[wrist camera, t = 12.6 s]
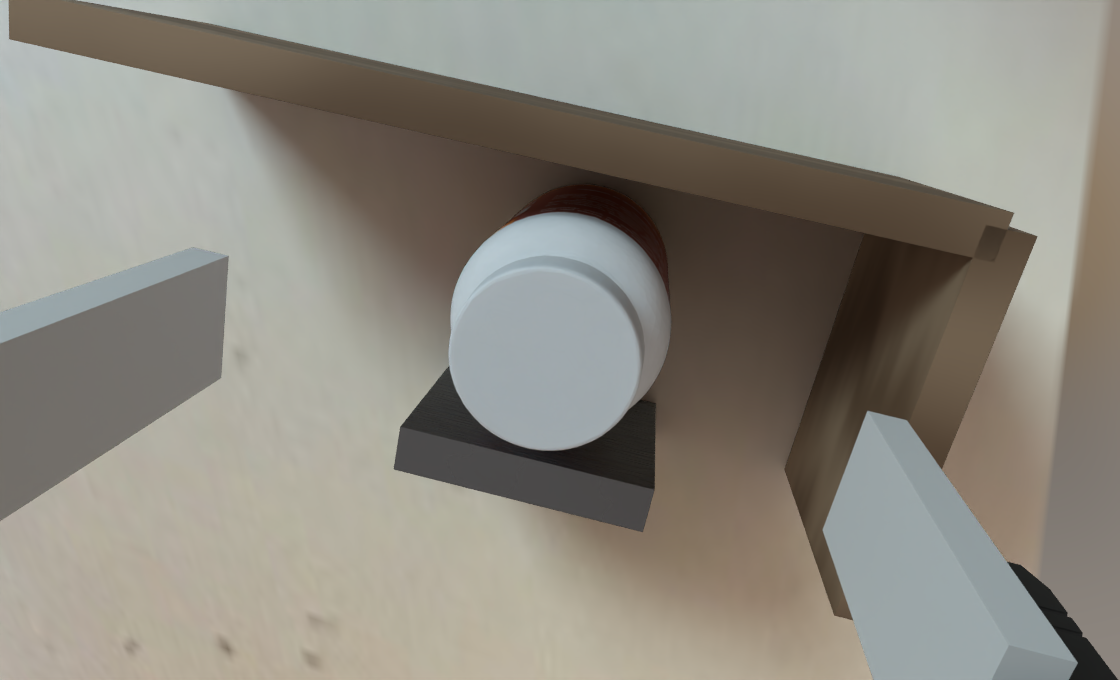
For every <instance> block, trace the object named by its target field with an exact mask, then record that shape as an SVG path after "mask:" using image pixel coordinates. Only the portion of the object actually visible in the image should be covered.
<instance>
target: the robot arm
mask: <svg viewBox="0 0 1120 680" xmlns="http://www.w3.org/2000/svg"><path fill="white" fill-rule="evenodd" d="M228 257H229V256H227V255H223V254H219V253H215V252H211V251H206V250H202V249H198V248H194V247H193V248H190V249H187V250H184V251H181V252H178V253H175V254H172V255H169V256H166V257H163V258H160V259H157V260H154V261H151V262H148V263H145V264H142V265H139V266H136V267H134V268H131V269H128V270H125V271H122V272H119V273H116V274H113V275H110V276H107V277H104V278H101V279H98V280H95V281H92V282H89V283H86V284H83V285H80V286H77V287H74V288H71V289H68V290H65V291H62V292H59V293H56V294H53V295H51V296H48V297H45V298H42V299H39V300H36V301H33V302H30V303H27V304H24V305H21V306H18V307H15V308H12V309H9V310H6V311H3V312H0V521H1V520H3V519H4V518H6V517H7V516H9V515H10V514H12V513H13V512H15V511H16V510H18V509H20V508H21V507H23V506H24V505H26V504H27V503H29V502H30V501H32V500H33V499H35V498H37V497H38V496H40V495H41V494H43V493H44V492H46V491H47V490H49V489H50V488H52V487H54V486H55V485H57V484H58V483H60V482H61V481H63V480H64V479H66V478H67V477H69V476H70V475H72V474H74V473H75V472H77V471H78V470H80V469H81V468H83V467H84V466H86V465H87V464H89V463H91V462H92V461H94V460H95V459H97V458H98V457H100V456H101V455H103V454H104V453H106V452H108V451H109V450H111V449H112V448H114V447H115V446H117V445H118V444H120V443H121V442H123V441H124V440H126V439H128V438H129V437H131V436H132V435H134V434H135V433H137V432H138V431H140V430H141V429H143V428H145V427H146V426H148V425H149V424H151V423H152V422H154V421H155V420H157V419H158V418H160V417H162V416H163V415H165V414H166V413H168V412H169V411H171V410H172V409H174V408H175V407H177V406H178V405H180V404H182V403H183V402H185V401H186V400H188V399H189V398H191V397H192V396H194V395H195V394H197V393H199V392H200V391H202V390H203V389H205V388H206V387H208V386H209V385H211V384H212V383H214V382H216V381H217V380H219V379H220V378H221V372H222V356H223V339H224V323H225V306H226V290H227V274H228ZM823 533H824V536H825V539H826V542H827V545H828V548H829V551H830V554H831V557H832V560H833V562H834V565H835V568H836V571H837V574H838V577H839V580H840V583H841V586H842V589H843V592H844V595H845V598H846V601H847V604H848V607H849V609H850V612H851V615H852V618H853V621H854V624H855V627H856V630H857V633H858V636H859V639H860V642H861V645H862V648H863V651H864V654H865V656H866V659H867V662H868V665H869V668H870V671H871V674H872V677H873V680H1118V679H1117V678H1116V677H1115V675H1114V674H1113V673H1112V671H1111V670H1110V669H1109V667H1108V666H1107V665H1106V663H1105V662H1104V661H1103V659H1102V658H1101V657H1100V655H1099V654H1098V653H1097V651H1096V650H1095V649H1094V647H1093V646H1092V645H1091V643H1090V642H1089V641H1088V639H1087V638H1084V637H1082V632H1081V630H1080V629H1079V627H1078V626H1077V625H1076V623H1075V622H1074V621H1073V619H1072V618H1070V617H1067V612H1066V610H1065V609H1064V607H1063V606H1062V605H1061V604H1060V602H1059V601H1058V600H1057V598H1056V597H1055V596H1054V594H1053V593H1052V592H1051V590H1050V589H1049V588H1048V587H1046V586H1045V585H1044V584H1043V583H1042V582H1041V581H1039V580H1038V579H1037V578H1036V577H1034V576H1033V575H1032V574H1031V573H1030V572H1028V571H1027V570H1026V569H1025V568H1024V567H1022V566H1021V565H1018V564H1014V563H1010V562H1006V560H1005V559H1004V557H1003V556H1002V555H1001V553H1000V552H999V550H998V549H997V547H996V546H995V545H994V543H993V542H992V540H991V539H990V538H989V536H988V535H987V533H986V532H985V530H984V529H983V528H982V526H981V525H980V523H979V522H978V520H977V519H976V518H975V516H974V515H973V513H972V512H971V511H970V509H969V508H968V506H967V505H966V503H965V502H964V501H963V499H962V498H961V496H960V495H959V494H958V492H957V491H956V489H955V488H954V486H953V485H952V484H951V482H950V481H949V479H948V478H947V476H946V475H945V474H944V472H943V471H942V469H941V468H940V467H939V465H938V464H937V462H936V461H935V459H934V458H933V457H932V455H931V454H930V452H929V451H928V450H927V448H926V447H925V445H924V444H923V442H922V441H921V440H920V438H919V437H918V435H917V434H916V432H915V431H914V430H913V428H912V427H911V425H910V424H909V423H908V421H907V420H904V419H899V418H895V417H891V416H887V415H883V414H879V413H875V412H871V411H867V413H866V416H865V419H864V421H863V424H862V426H861V429H860V432H859V434H858V437H857V440H856V442H855V445H854V448H853V450H852V453H851V456H850V458H849V461H848V464H847V466H846V469H845V472H844V474H843V477H842V480H841V482H840V485H839V488H838V490H837V493H836V496H835V498H834V501H833V503H832V506H831V509H830V511H829V514H828V517H827V519H826V522H825V525H824V527H823Z"/></svg>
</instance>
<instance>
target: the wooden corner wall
mask: <svg viewBox="0 0 1120 680" xmlns="http://www.w3.org/2000/svg"><path fill="white" fill-rule="evenodd" d="M9 39H11V40H15V41H20V42H24V43H29V44H33V45H37V46H42V47H46V48H51V49H55V50H60V51H64V52H68V53H73V54H77V55H82V56H86V57H90V58H95V59H99V60H104V61H108V62H112V63H117V64H121V65H126V66H130V67H134V68H139V69H143V70H148V71H152V72H156V73H161V74H165V75H170V76H174V77H179V78H183V79H187V80H192V81H196V82H201V83H205V84H209V85H214V86H218V87H223V88H227V89H231V90H236V91H240V92H245V93H249V94H253V95H258V96H262V97H267V98H271V99H275V100H280V101H284V102H289V103H293V104H298V105H302V106H306V107H311V108H315V109H320V110H324V111H328V112H333V113H337V114H342V115H346V116H350V117H355V118H359V119H364V120H368V121H372V122H377V123H381V124H386V125H390V126H395V127H399V128H403V129H408V130H412V131H417V132H421V133H425V134H430V135H434V136H439V137H443V138H447V139H452V140H456V141H461V142H465V143H469V144H474V145H478V146H483V147H487V148H491V149H496V150H500V151H505V152H509V153H514V154H518V155H522V156H527V157H531V158H536V159H540V160H544V161H549V162H553V163H558V164H562V165H566V166H571V167H575V168H580V169H584V170H588V171H593V172H597V173H602V174H606V175H611V176H615V177H619V178H624V179H628V180H633V181H637V182H641V183H646V184H650V185H655V186H659V187H663V188H668V189H672V190H677V191H681V192H685V193H690V194H694V195H699V196H703V197H707V198H712V199H716V200H721V201H725V202H730V203H734V204H738V205H743V206H747V207H752V208H756V209H760V210H765V211H769V212H774V213H778V214H782V215H787V216H791V217H796V218H800V219H804V220H809V221H813V222H818V223H822V224H827V225H831V226H835V227H840V228H844V229H849V230H853V231H857V232H862V233H865V234H864V237H863V240H862V243H861V246H860V248H859V251H858V254H857V257H856V260H855V263H854V266H853V269H852V272H851V275H850V278H849V281H848V284H847V287H846V290H845V293H844V296H843V299H842V302H841V305H840V308H839V310H838V313H837V316H836V319H835V322H834V325H833V328H832V331H831V334H830V337H829V340H828V343H827V346H826V349H825V352H824V355H823V358H822V361H821V364H820V367H819V370H818V372H817V375H816V378H815V381H814V384H813V387H812V390H811V393H810V396H809V399H808V402H807V405H806V408H805V411H804V414H803V417H802V420H801V423H800V426H799V429H798V431H797V434H796V437H795V440H794V443H793V446H792V449H791V452H790V455H789V458H788V461H787V464H786V467H785V472H786V475H787V478H788V481H789V484H790V487H791V490H792V493H793V496H794V499H795V501H796V504H797V507H798V510H799V513H800V516H801V519H802V522H803V525H804V528H805V531H806V534H807V537H808V540H809V543H810V546H811V548H812V551H813V554H814V557H815V560H816V563H817V566H818V569H819V572H820V575H821V578H822V581H823V584H824V587H825V590H826V593H827V595H828V598H829V601H830V604H831V607H832V610H833V613H834V615H835V616H839V617H843V618H847V619H850V620H853V618H852V615H851V612H850V609H849V607H848V604H847V601H846V598H845V595H844V592H843V589H842V586H841V583H840V580H839V577H838V574H837V571H836V568H835V565H834V562H833V560H832V557H831V554H830V551H829V548H828V545H827V542H826V539H825V536H824V533H823V527H824V525H825V522H826V519H827V517H828V514H829V511H830V509H831V506H832V503H833V501H834V498H835V496H836V493H837V490H838V488H839V485H840V482H841V480H842V477H843V474H844V472H845V469H846V466H847V464H848V461H849V458H850V456H851V453H852V450H853V448H854V445H855V442H856V440H857V437H858V434H859V432H860V429H861V426H862V424H863V421H864V419H865V416H866V413H867V411H871V412H875V413H879V414H883V415H887V416H891V417H895V418H899V419H904V420H907V421H908V423H909V424H910V425H911V427H912V428H913V430H914V431H915V432H916V434H917V435H918V437H919V438H920V440H921V441H922V442H923V444H924V445H925V447H926V448H927V450H928V451H929V452H930V454H931V455H932V457H933V458H934V459H935V461H936V462H937V464H938V465H939V467H940V468H941V469H942V467H943V465H944V462H945V460H946V457H947V455H948V452H949V450H950V448H951V445H952V443H953V440H954V438H955V435H956V433H957V431H958V428H959V426H960V423H961V421H962V418H963V416H964V414H965V411H966V409H967V406H968V404H969V401H970V399H971V397H972V394H973V392H974V389H975V387H976V384H977V382H978V380H979V377H980V375H981V372H982V370H983V367H984V365H985V363H986V360H987V358H988V355H989V353H990V350H991V348H992V346H993V343H994V341H995V338H996V336H997V333H998V331H999V329H1000V326H1001V324H1002V321H1003V319H1004V316H1005V314H1006V312H1007V309H1008V307H1009V304H1010V302H1011V299H1012V297H1013V295H1014V292H1015V290H1016V287H1017V285H1018V282H1019V280H1020V278H1021V275H1022V273H1023V270H1024V268H1025V265H1026V263H1027V261H1028V258H1029V256H1030V253H1031V251H1032V248H1033V246H1034V244H1035V241H1036V239H1037V236H1035V235H1032V234H1029V233H1026V232H1023V231H1021V230H1018V229H1015V228H1012V227H1009V224H1010V222H1011V219H1012V217H1013V214H1014V213H1013V212H1009V211H1006V210H1003V209H1000V208H997V207H993V206H990V205H987V204H984V203H981V202H977V201H974V200H971V199H968V198H965V197H961V196H958V195H955V194H952V193H949V192H945V191H942V190H939V189H936V188H933V187H929V186H926V185H923V184H920V183H917V182H913V181H910V180H907V179H904V178H900V177H896V176H892V175H887V174H883V173H879V172H874V171H870V170H865V169H861V168H856V167H852V166H847V165H843V164H838V163H834V162H829V161H825V160H820V159H816V158H811V157H807V156H802V155H798V154H793V153H789V152H784V151H780V150H775V149H771V148H766V147H762V146H757V145H753V144H748V143H744V142H739V141H735V140H730V139H726V138H721V137H717V136H712V135H708V134H703V133H699V132H694V131H690V130H685V129H681V128H676V127H672V126H667V125H663V124H658V123H654V122H649V121H645V120H640V119H636V118H631V117H627V116H622V115H618V114H613V113H609V112H604V111H600V110H595V109H591V108H586V107H582V106H577V105H573V104H568V103H564V102H559V101H555V100H550V99H546V98H541V97H537V96H532V95H528V94H523V93H519V92H514V91H510V90H505V89H501V88H496V87H492V86H487V85H483V84H478V83H474V82H469V81H465V80H460V79H456V78H451V77H447V76H442V75H438V74H433V73H429V72H424V71H420V70H415V69H411V68H406V67H402V66H397V65H393V64H388V63H384V62H379V61H375V60H370V59H366V58H361V57H357V56H352V55H348V54H343V53H339V52H334V51H330V50H325V49H321V48H316V47H312V46H307V45H303V44H298V43H294V42H289V41H285V40H280V39H276V38H271V37H267V36H262V35H258V34H253V33H249V32H244V31H240V30H235V29H231V28H226V27H222V26H217V25H213V24H208V23H203V22H197V21H191V20H185V19H180V18H174V17H168V16H162V15H157V14H151V13H145V12H140V11H134V10H128V9H122V8H117V7H111V6H105V5H99V4H94V3H88V2H82V1H77V0H9Z"/></svg>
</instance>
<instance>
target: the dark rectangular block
mask: <svg viewBox="0 0 1120 680" xmlns="http://www.w3.org/2000/svg"><path fill="white" fill-rule="evenodd" d="M655 413H656V404H654V403H650V402H646V401H642V400H639V401H638V402H637V403H636V404H635V405H633V406H632V407H631V408H630V409H628V411H627V412H626V414H625V415H624V416H623V418H622V419H621V420H620V421H619V422H618V423H617V424H616V425H615V426H614V427H613V428H611V429H610V430H609V431H608V432H606V433H605V434H604V435H602V436H601V437H599V438H597V439H595V440H593V441H592V442H589V443H587V444H584V445H581V446H579V447H575V448H571V449H565V450H558V451H542V450H535V449H528V448H525V447H521V446H518V445H515V444H512V443H510V442H508V441H506V440H503V439H501V438H499V437H498V436H496V435H494V434H493V433H491V432H490V431H489V430H487V429H486V428H485V427H483V426H482V425H481V424H480V423H479V422H478V421H477V420H476V419H475V418H474V417H473V416H472V414H471V413H470V412H469V411H468V409H467V408H466V407H465V405H464V404H463V402H462V400H461V398H460V396H459V395H458V393H457V391H456V388H455V386H454V383H453V380H452V376H451V372H450V366H449V367H448V368H447V369H446V370H445V372H444V373H443V374H442V375H441V377H440V378H439V379H438V380H437V382H436V383H435V384H434V385H433V387H432V388H431V389H430V390H429V392H428V393H427V394H426V395H425V397H424V398H423V399H422V400H421V402H420V403H419V404H418V405H417V407H416V408H415V409H414V410H413V412H412V413H411V414H410V415H409V417H408V418H407V419H406V420H405V422H404V423H403V424H402V425H401V427H400V433H399V439H398V445H397V452H396V458H395V464H394V470H398V471H402V472H406V473H410V474H414V475H418V476H422V477H426V478H430V479H434V480H438V481H442V482H446V483H450V484H454V485H458V486H462V487H466V488H470V489H474V490H478V491H482V492H486V493H490V494H494V495H498V496H502V497H506V498H509V499H513V500H517V501H521V502H525V503H529V504H533V505H537V506H541V507H545V508H549V509H553V510H557V511H561V512H565V513H569V514H573V515H577V516H581V517H585V518H589V519H593V520H597V521H601V522H605V523H609V524H613V525H617V526H621V527H625V528H629V529H633V530H637V531H640V532H643V529H644V525H645V522H646V518H647V515H648V511H649V508H650V504H651V501H652V497H653V493H654V488H655Z"/></svg>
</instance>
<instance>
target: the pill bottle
mask: <svg viewBox="0 0 1120 680" xmlns="http://www.w3.org/2000/svg"><path fill="white" fill-rule="evenodd" d="M450 322H451V336H450V343H449V366H450V372H451V376H452V380H453V383H454V386H455V388H456V391H457V393H458V395H459V396H460V398H461V400H462V402H463V404H464V405H465V407H466V408H467V409H468V411H469V412H470V413H471V414H472V416H473V417H474V418H475V419H476V420H477V421H478V422H479V423H480V424H481V425H482V426H483V427H485V428H486V429H487V430H489V431H490V432H491V433H493V434H494V435H496V436H498V437H499V438H501V439H503V440H506V441H508V442H510V443H512V444H515V445H518V446H521V447H525V448H528V449H535V450H542V451H558V450H565V449H571V448H575V447H579V446H581V445H584V444H587V443H589V442H592V441H593V440H595V439H597V438H599V437H601V436H602V435H604V434H605V433H606V432H608V431H609V430H610V429H611V428H613V427H614V426H615V425H616V424H617V423H618V422H619V421H620V420H621V419H622V418H623V416H624V415H625V414H626V412H627V411H628V409H630V408H631V407H632V406H633V405H635V404H636V403H637V402H638V401H639V400H640V399H641V398H642V397H643V396H644V395H645V394H646V393H647V391H648V390H649V389H650V387H651V386H652V384H653V383H654V381H655V380H656V378H657V376H658V374H659V372H660V371H661V368H662V366H663V364H664V361H665V358H666V355H667V351H668V347H669V341H670V334H671V307H670V296H669V281H668V262H667V255H666V250H665V247H664V243H663V241H662V238H661V236H660V233H659V231H658V229H657V227H656V225H655V224H654V222H653V221H652V219H651V218H650V217H649V215H648V214H647V213H646V212H645V211H644V210H643V209H642V208H641V207H640V206H639V205H638V204H637V203H636V202H634V201H633V200H632V199H630V198H629V197H627V196H625V195H624V194H622V193H620V192H618V191H615V190H613V189H610V188H607V187H603V186H598V185H591V184H576V185H568V186H564V187H560V188H557V189H554V190H551V191H549V192H547V193H545V194H543V195H541V196H539V197H537V198H536V199H534V200H533V201H532V202H530V203H529V204H528V205H526V206H525V207H524V208H523V209H522V210H520V211H519V212H518V213H517V214H516V215H515V216H514V217H513V218H512V219H511V220H510V221H508V222H507V223H506V224H505V225H504V226H503V227H501V228H500V229H499V230H498V231H496V232H495V233H494V234H493V235H492V236H491V237H489V238H488V239H487V240H486V241H485V242H484V243H483V244H482V245H481V246H480V247H479V248H478V249H477V251H476V252H475V253H474V254H473V255H472V257H471V258H470V259H469V261H468V262H467V264H466V265H465V267H464V269H463V271H462V273H461V275H460V277H459V279H458V282H457V284H456V287H455V290H454V294H453V298H452V304H451V316H450Z"/></svg>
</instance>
